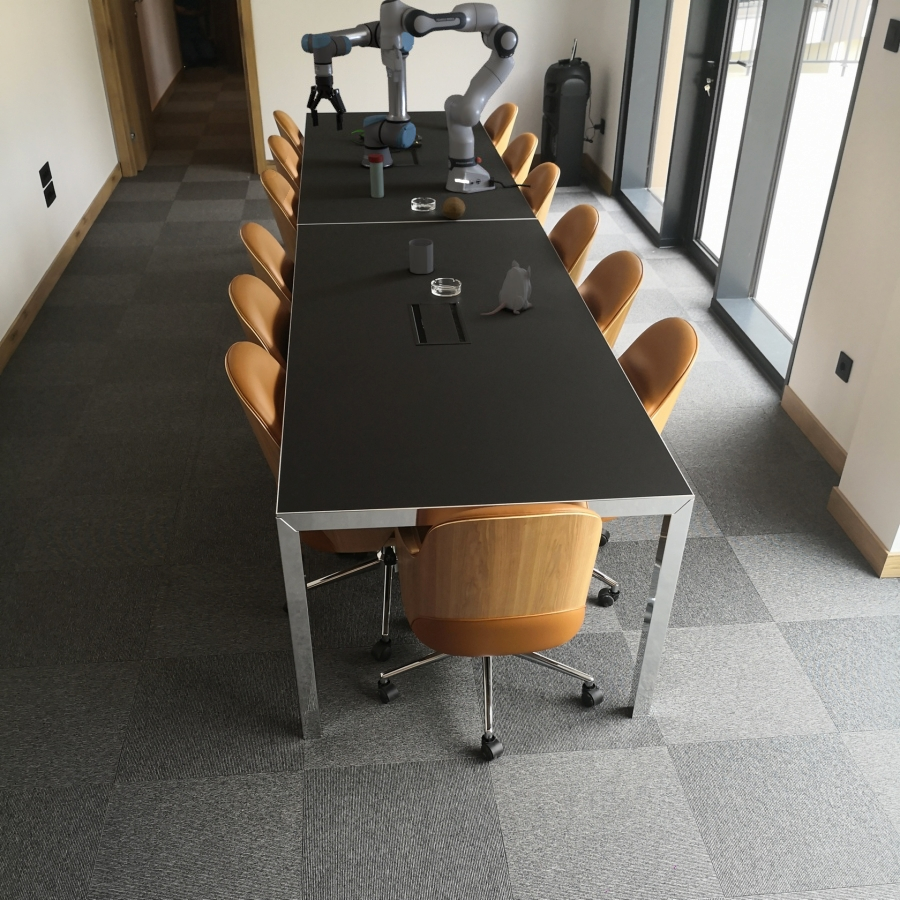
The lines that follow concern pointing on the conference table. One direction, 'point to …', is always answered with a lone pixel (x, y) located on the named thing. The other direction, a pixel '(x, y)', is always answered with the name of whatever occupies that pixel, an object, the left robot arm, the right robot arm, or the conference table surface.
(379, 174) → the jar
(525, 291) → the toy
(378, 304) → the conference table surface
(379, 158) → the lid
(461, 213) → the potato
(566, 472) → the conference table surface
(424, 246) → the cup
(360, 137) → the scepter
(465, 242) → the conference table surface
